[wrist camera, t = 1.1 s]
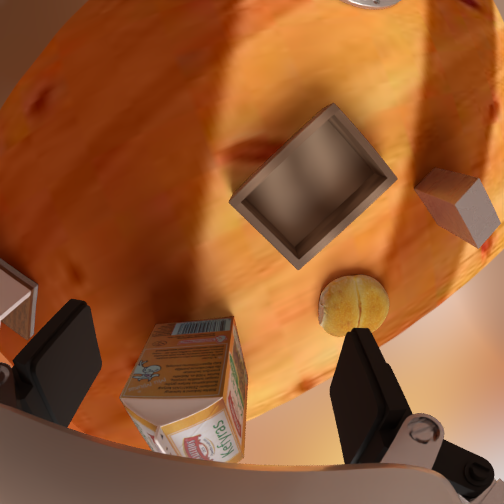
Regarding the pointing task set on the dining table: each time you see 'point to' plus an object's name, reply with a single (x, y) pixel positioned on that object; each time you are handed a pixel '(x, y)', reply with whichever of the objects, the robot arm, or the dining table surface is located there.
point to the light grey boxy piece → (17, 300)
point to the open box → (313, 186)
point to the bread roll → (352, 305)
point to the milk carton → (191, 390)
